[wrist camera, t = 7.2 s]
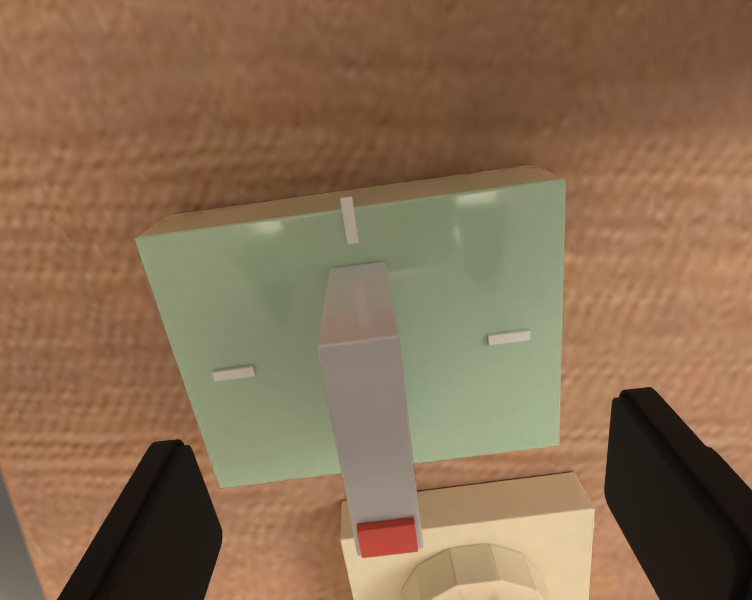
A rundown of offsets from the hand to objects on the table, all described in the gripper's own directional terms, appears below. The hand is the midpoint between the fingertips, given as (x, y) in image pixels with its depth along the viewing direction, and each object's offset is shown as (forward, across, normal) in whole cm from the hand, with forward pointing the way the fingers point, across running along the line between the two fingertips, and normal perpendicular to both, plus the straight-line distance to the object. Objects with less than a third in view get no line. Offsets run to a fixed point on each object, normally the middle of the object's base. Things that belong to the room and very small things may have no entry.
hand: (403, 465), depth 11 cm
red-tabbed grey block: (+6, +1, +1) cm, 6 cm away
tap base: (+9, +1, +1) cm, 9 cm away
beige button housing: (+9, -2, +14) cm, 17 cm away
